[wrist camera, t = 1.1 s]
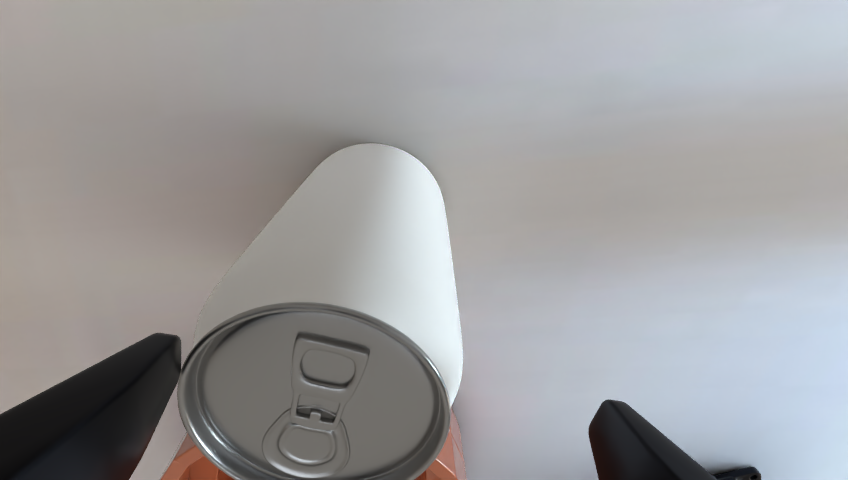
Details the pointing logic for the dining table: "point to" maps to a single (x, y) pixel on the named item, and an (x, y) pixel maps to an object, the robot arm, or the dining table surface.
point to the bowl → (196, 476)
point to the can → (333, 332)
